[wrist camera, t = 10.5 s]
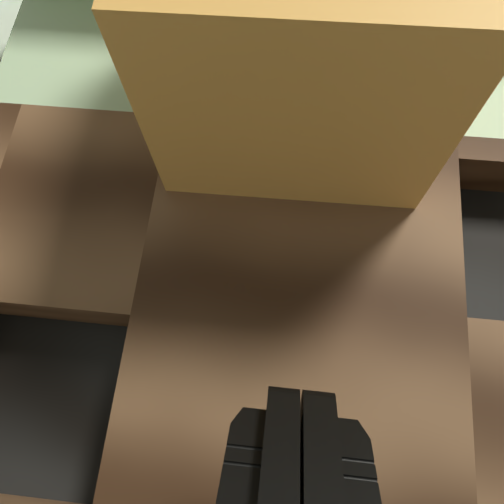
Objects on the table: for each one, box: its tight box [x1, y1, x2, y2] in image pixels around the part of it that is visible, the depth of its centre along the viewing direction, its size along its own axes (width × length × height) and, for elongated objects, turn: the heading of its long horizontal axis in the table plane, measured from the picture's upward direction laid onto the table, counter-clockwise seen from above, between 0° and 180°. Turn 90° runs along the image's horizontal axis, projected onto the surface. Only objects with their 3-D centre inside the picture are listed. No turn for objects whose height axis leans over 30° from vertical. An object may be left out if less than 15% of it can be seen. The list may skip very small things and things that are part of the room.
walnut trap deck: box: [0, 103, 504, 504], centre depth 17 cm, size 27×26×2 cm
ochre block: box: [91, 0, 504, 209], centre depth 15 cm, size 9×9×8 cm
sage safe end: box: [0, 0, 504, 139], centre depth 19 cm, size 7×26×6 cm, turn 84°
